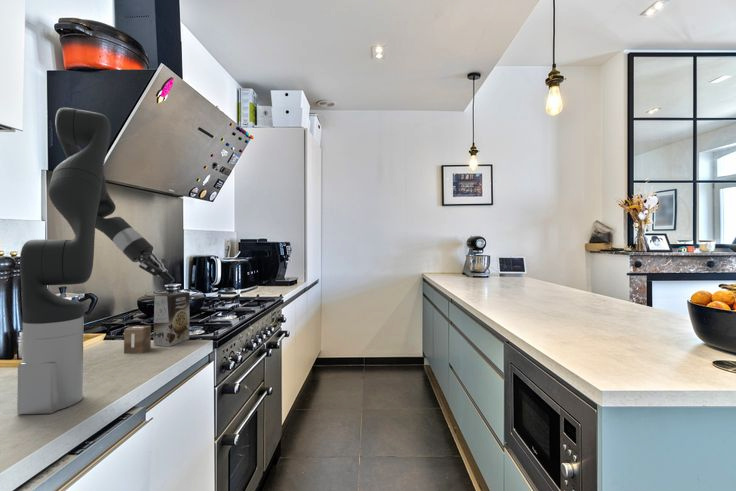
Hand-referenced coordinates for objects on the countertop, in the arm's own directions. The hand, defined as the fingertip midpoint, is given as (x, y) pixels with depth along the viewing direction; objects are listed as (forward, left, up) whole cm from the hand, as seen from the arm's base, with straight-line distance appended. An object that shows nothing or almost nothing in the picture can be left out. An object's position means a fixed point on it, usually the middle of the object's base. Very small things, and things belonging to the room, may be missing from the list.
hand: (172, 282), depth 116 cm
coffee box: (0, 0, -20) cm, 20 cm away
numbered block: (-9, +6, -20) cm, 23 cm away
